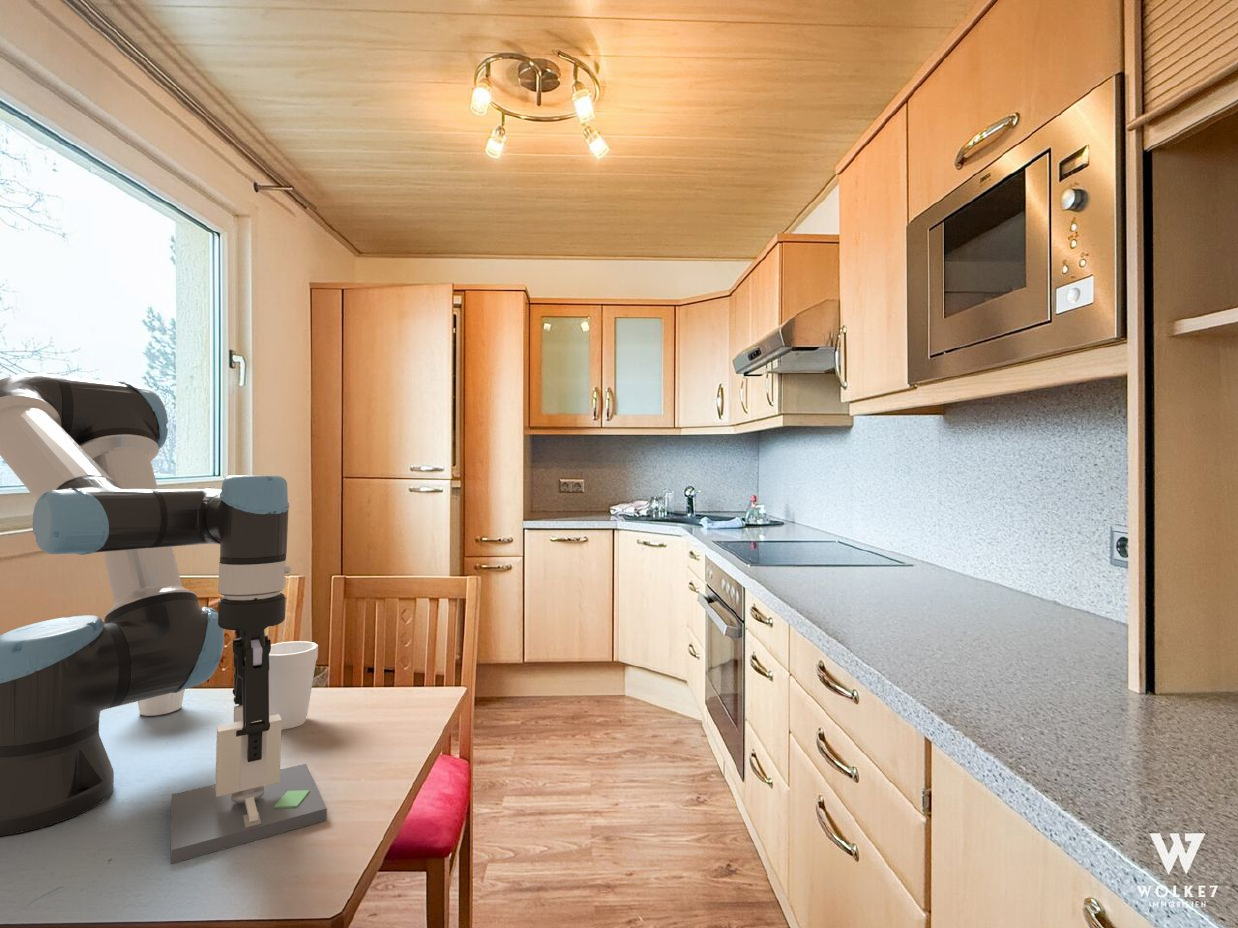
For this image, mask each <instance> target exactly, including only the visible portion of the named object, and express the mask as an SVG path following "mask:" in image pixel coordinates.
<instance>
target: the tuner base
mask: <svg viewBox="0 0 1238 928" xmlns="http://www.w3.org/2000/svg"><path fill="white" fill-rule="evenodd" d="M311 773H312V772H311V771H310V769H309V767H308V765H307V763H304V764H303V763H302V764H298V765H294V766H290V767H286V768H282V769H281V768H280V782H277V783H273V784H269V785H265V786H263V787H264V794H263V795H262V796H261V797H259V798H258V799H256V800H254V801H255V805H256V808H257V812H258V820H255V821H251V822H249V819H248V814H247V810H246V805H245V804H241V803H236V802H233V801H232V800H231V794H232V793H231V794H227V795H223V796H218V797H216V792H215V784H211V785H210V784H209V785H207V786H206V785H205V786H203V787H197V788H193V789H188V790H184V791H183V790H182V791H180V792H174V793H171V796H170V797H171V798H170V864H174V863H175V864H177V863H178V862H182V861H185V860H186V861H187V860H190V859H193V858H197V857H200V856H203V855H207V854H211V853H214V852H218V851H221V850H225V849H229V848H233V847H236V846H240V845H243V844H247V843H250V842H255V841H257V840H260V839H265V838H269V837H271V836H275V835H279V834H283V833H286V832H291V831H293V830H298V829H300V828H304V827H308V826H312V825H315V824H318V823H323V822H325V821H327V815H328V814H327V810H328V809H327V806H326V804H325V802H324V800H323V798H322V795H321V793H320V790H319V788H318V787H317V785H316V782H315V780H314V778H313V775H312V774H311Z"/></svg>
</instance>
